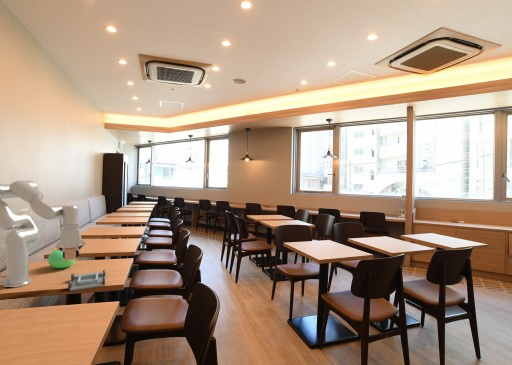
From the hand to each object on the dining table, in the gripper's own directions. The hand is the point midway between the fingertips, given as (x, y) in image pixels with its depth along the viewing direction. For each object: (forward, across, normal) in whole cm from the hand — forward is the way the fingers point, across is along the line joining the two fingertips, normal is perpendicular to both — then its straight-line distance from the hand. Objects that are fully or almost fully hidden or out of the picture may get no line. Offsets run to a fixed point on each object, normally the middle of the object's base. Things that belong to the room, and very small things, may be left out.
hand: (71, 257), depth 159 cm
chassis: (+16, +8, +1) cm, 18 cm away
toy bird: (+16, -10, +39) cm, 43 cm away
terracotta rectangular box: (+1, 0, 0) cm, 1 cm away
